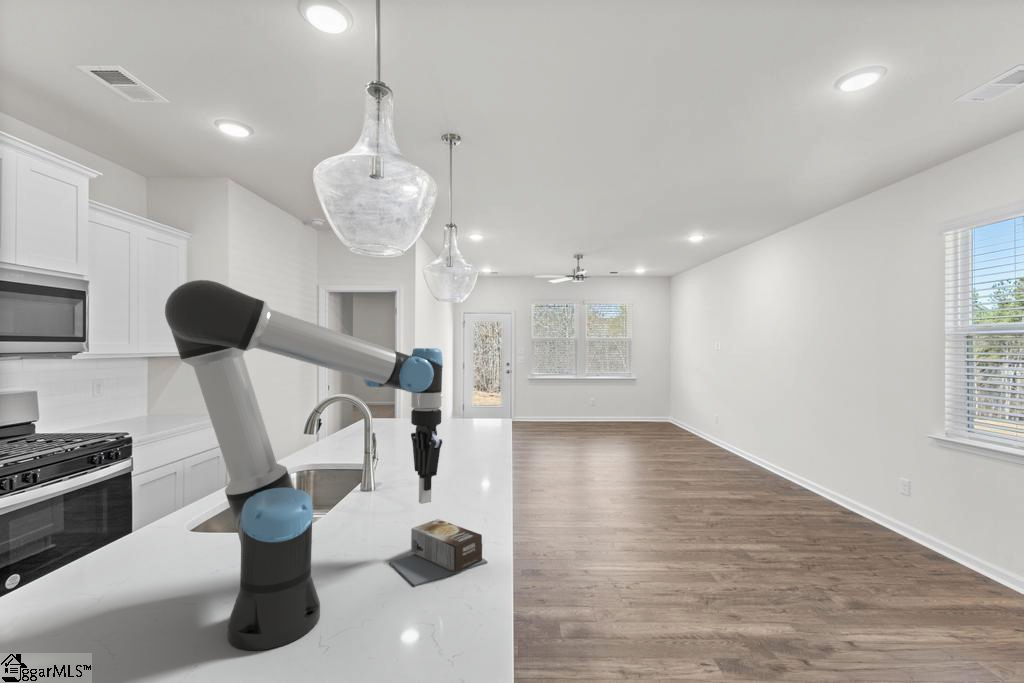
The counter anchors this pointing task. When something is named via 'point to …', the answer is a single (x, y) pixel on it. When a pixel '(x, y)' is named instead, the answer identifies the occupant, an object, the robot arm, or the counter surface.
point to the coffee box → (446, 545)
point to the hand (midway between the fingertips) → (424, 502)
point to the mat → (423, 569)
